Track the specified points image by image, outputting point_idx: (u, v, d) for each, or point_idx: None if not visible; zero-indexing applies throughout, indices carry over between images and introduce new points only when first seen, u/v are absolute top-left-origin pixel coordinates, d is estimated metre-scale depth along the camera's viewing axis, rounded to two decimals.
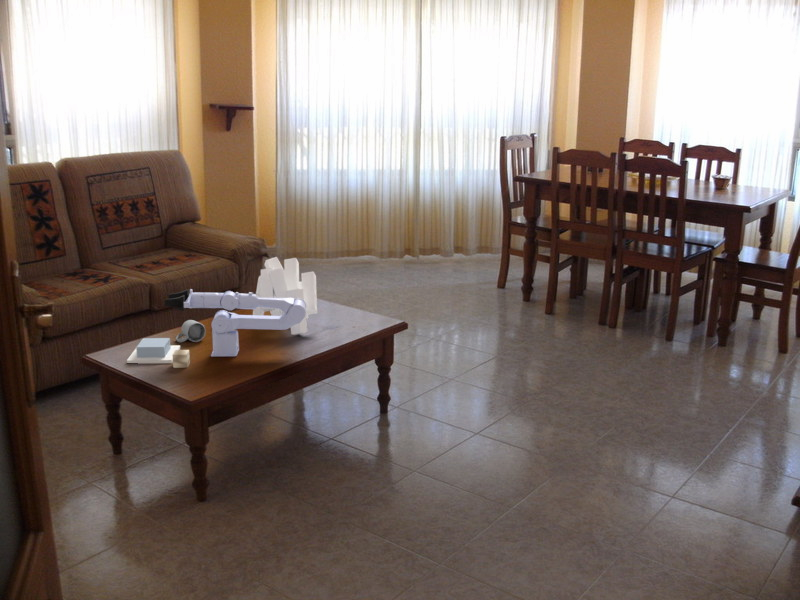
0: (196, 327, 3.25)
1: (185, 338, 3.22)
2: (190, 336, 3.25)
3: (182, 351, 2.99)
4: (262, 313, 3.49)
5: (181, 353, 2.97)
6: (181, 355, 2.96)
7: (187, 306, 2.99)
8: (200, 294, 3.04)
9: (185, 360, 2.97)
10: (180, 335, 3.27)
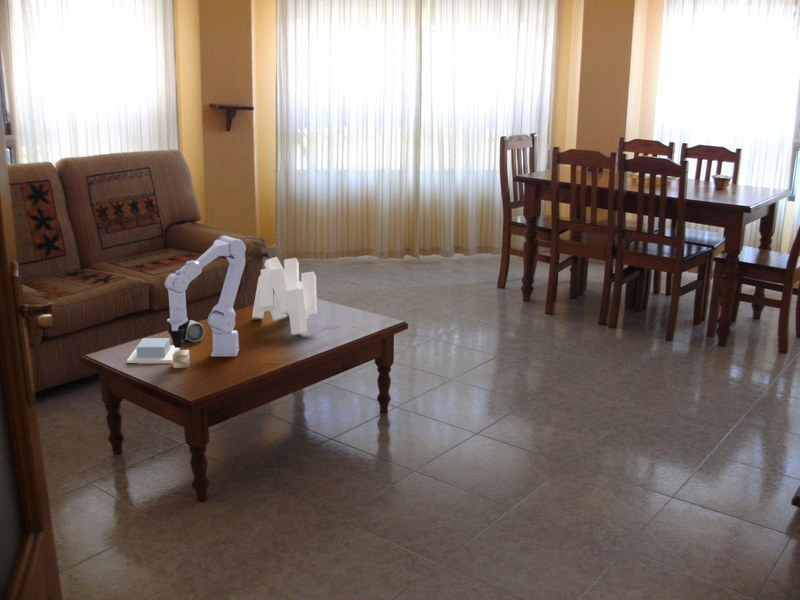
0: (195, 327, 3.24)
1: None
2: (189, 336, 3.24)
3: (182, 351, 2.99)
4: (262, 313, 3.49)
5: (181, 353, 2.97)
6: (181, 355, 2.96)
7: (175, 327, 2.88)
8: (170, 311, 2.93)
9: (185, 360, 2.97)
10: None
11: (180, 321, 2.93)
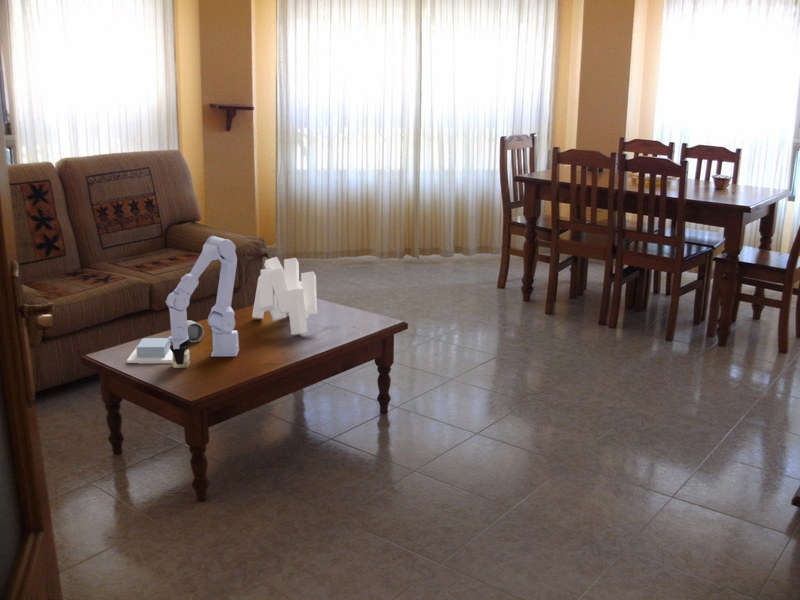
0: (194, 327, 3.24)
1: None
2: None
3: None
4: (262, 313, 3.49)
5: None
6: None
7: (177, 345, 2.90)
8: (171, 329, 2.95)
9: (185, 360, 2.97)
10: None
11: (181, 339, 2.95)
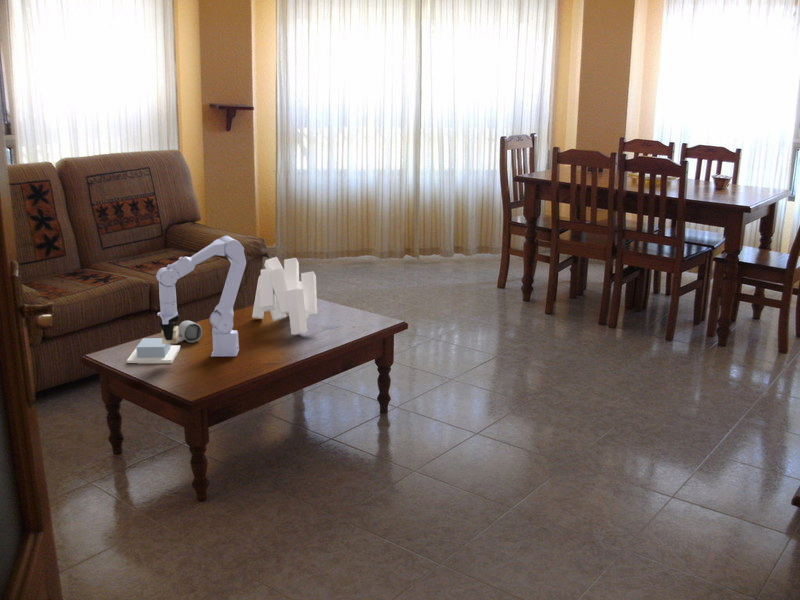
0: (192, 328, 3.24)
1: (182, 339, 3.22)
2: (187, 337, 3.24)
3: None
4: (262, 313, 3.49)
5: None
6: None
7: (166, 320, 2.91)
8: (160, 305, 2.95)
9: (174, 336, 2.98)
10: None
11: (170, 315, 2.95)
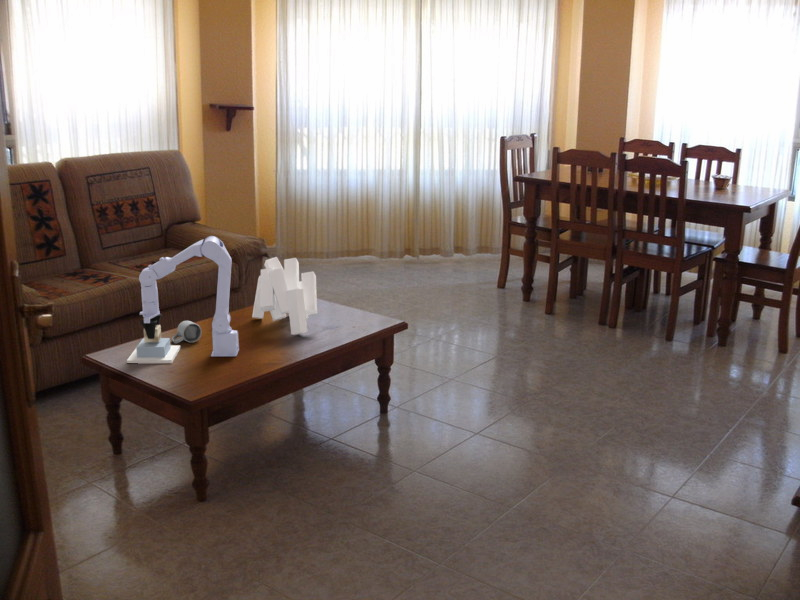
0: (192, 328, 3.24)
1: (181, 339, 3.22)
2: (186, 337, 3.24)
3: None
4: (262, 313, 3.49)
5: None
6: None
7: (147, 319, 2.97)
8: (142, 304, 3.02)
9: (156, 334, 3.04)
10: (176, 336, 3.26)
11: (152, 314, 3.02)
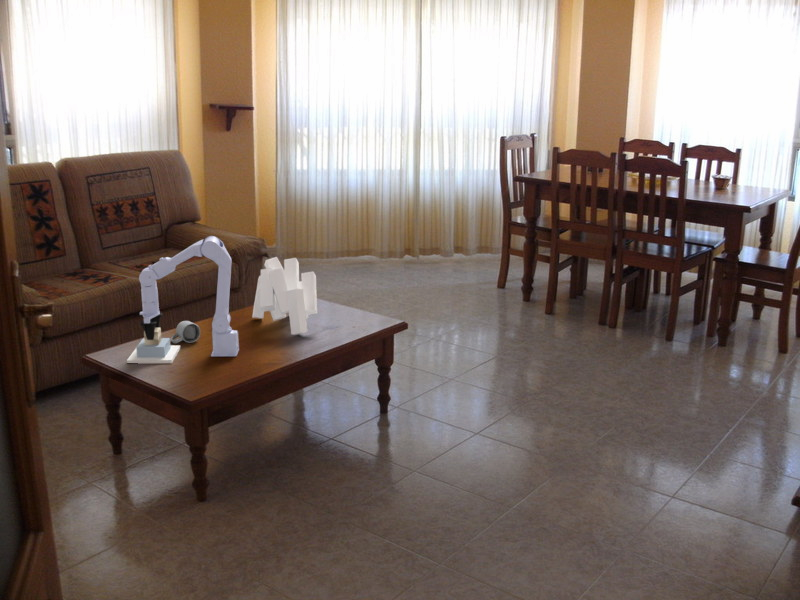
0: (191, 328, 3.23)
1: (180, 339, 3.21)
2: (185, 337, 3.24)
3: None
4: (262, 313, 3.49)
5: None
6: None
7: (147, 319, 2.97)
8: (142, 304, 3.02)
9: (156, 337, 3.04)
10: (175, 336, 3.26)
11: (152, 314, 3.02)
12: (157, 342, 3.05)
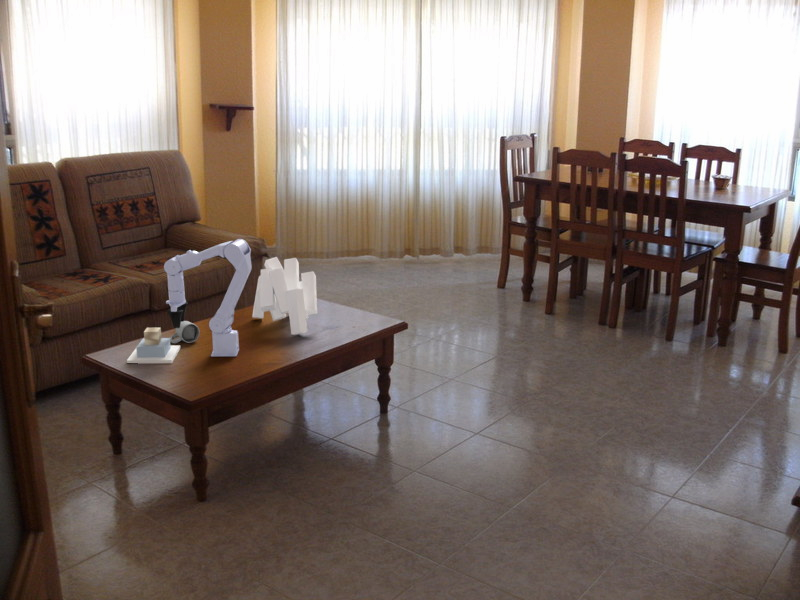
0: (190, 328, 3.23)
1: (179, 339, 3.21)
2: (184, 337, 3.23)
3: (153, 328, 3.07)
4: (262, 313, 3.49)
5: (152, 330, 3.05)
6: (152, 332, 3.04)
7: (174, 308, 3.03)
8: (169, 293, 3.07)
9: (156, 337, 3.04)
10: (174, 336, 3.26)
11: (179, 302, 3.07)
12: (157, 342, 3.05)
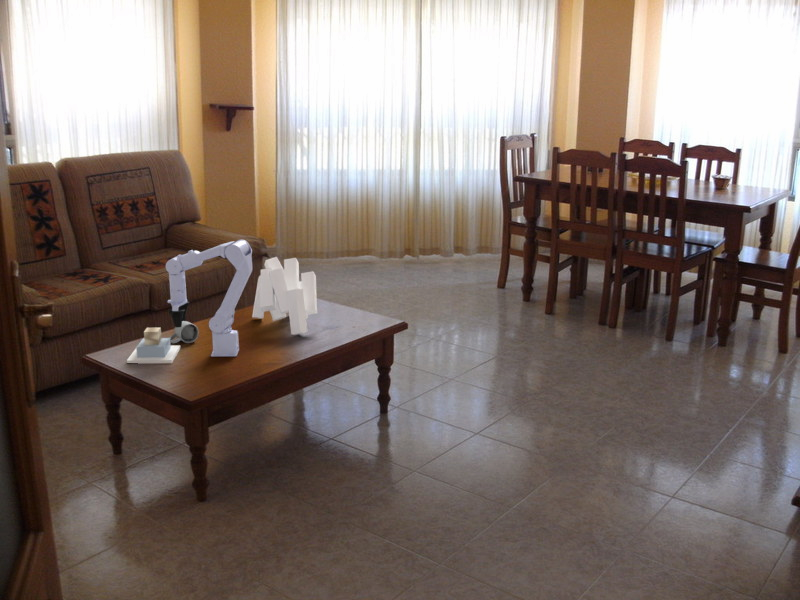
0: (189, 328, 3.23)
1: (178, 339, 3.21)
2: (183, 337, 3.23)
3: (153, 328, 3.07)
4: (262, 313, 3.49)
5: (152, 330, 3.05)
6: (152, 332, 3.04)
7: (176, 307, 3.03)
8: (170, 293, 3.07)
9: (156, 337, 3.04)
10: (173, 336, 3.25)
11: (180, 302, 3.07)
12: (157, 342, 3.05)
